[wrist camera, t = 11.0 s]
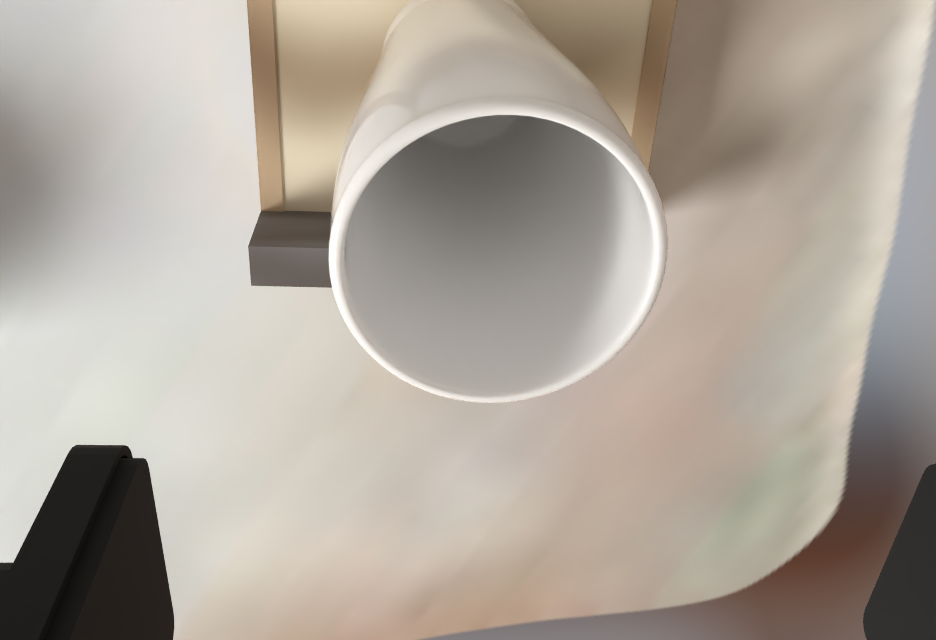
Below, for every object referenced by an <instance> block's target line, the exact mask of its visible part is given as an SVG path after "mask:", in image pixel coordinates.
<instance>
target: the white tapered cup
mask: <svg viewBox="0 0 936 640" xmlns="http://www.w3.org/2000/svg"><path fill="white" fill-rule="evenodd" d="M667 250H668V236H667V224H666V219H665V213H664V209H663V205H662V202H661V199H660V196H659V193H658V191H657V189H656V186H655V184H654V182H653V180H652V178H651V176H650V174H649V172H648V170H647V168H646V165H645V163H644V161H643V159H642V157H641V155H640V153H639V151H638V149H637V147H636V145H635V143H634V141H633V140H632V138H631V136H630V134H629V133H628V131H627V129H626V127H625V126H624V124H623V122H622V121H621V119H620V118H619V116H618V115H617V113H616V112H615V110H614V109H613V108H612V106H611V105H610V103H609V102H608V101H607V99H606V98H605V97H604V95H603V94H602V93H601V91H600V90H599V89H598V88H597V87H596V86H595V85H594V84H593V82H592V81H591V80H590V79H589V78H588V77H587V76H586V75H585V74H584V73H583V72H582V71H581V70H580V69H579V68H578V67H577V66H576V65H575V64H574V63H573V62H572V61H571V60H570V59H569V58H568V57H567V56H565V55H564V54H563V53H562V52H561V51H560V50H559V49H558V48H557V47H556V46H555V45H553V44H552V43H551V42H550V41H549V40H548V39H547V38H546V37H545V36H544V35H543V34H542V33H541V32H540V31H539V30H538V29H537V28H536V27H535V26H534V25H533V24H532V22H531V20H530V19H529V17H528V16H527V15H526V13H525V12H524V11H523V10H522V9H521V7H520V6H519V5H518V4H517V3H515V2H514V1H513V0H411V1H410V2H408V3H407V4H406V5H405V6H404V7H403V8H402V9H401V11H400V12H399V13H398V14H397V16H396V17H395V19H394V20H393V22H392V23H391V25H390V27H389V29H388V31H387V34H386V37H385V39H384V43H383V47H382V52H381V57H380V60H379V62H378V64H377V66H376V69H375V71H374V73H373V75H372V78H371V80H370V82H369V84H368V86H367V88H366V91H365V93H364V95H363V97H362V99H361V101H360V104H359V106H358V108H357V110H356V112H355V115H354V117H353V120H352V122H351V125H350V128H349V130H348V133H347V136H346V139H345V142H344V145H343V149H342V153H341V157H340V160H339V164H338V169H337V174H336V180H335V186H334V193H333V200H332V208H331V223H330V240H329V257H328V259H329V273H330V279H331V284H332V289H333V293H334V296H335V299H336V303H337V305H338V307H339V310H340V312H341V315H342V317H343V319H344V320H345V322H346V324H347V326H348V328H349V329H350V331H351V332H352V334H353V335H354V337H355V338H356V340H357V341H358V342H359V343H360V345H361V346H362V347H363V348H364V349H365V350H366V352H367V353H368V354H369V355H370V356H372V357H373V358H374V359H375V360H376V361H377V362H378V363H379V364H380V365H382V366H383V367H384V368H385V369H387V370H388V371H389V372H391V373H392V374H394V375H395V376H397V377H399V378H400V379H402V380H404V381H405V382H407V383H409V384H411V385H413V386H415V387H417V388H420V389H422V390H425V391H427V392H430V393H433V394H436V395H439V396H443V397H447V398H451V399H456V400H462V401H469V402H482V403H502V402H512V401H520V400H525V399H531V398H535V397H539V396H542V395H546V394H549V393H552V392H555V391H558V390H560V389H563V388H565V387H567V386H569V385H572V384H574V383H576V382H578V381H580V380H581V379H583V378H585V377H587V376H589V375H590V374H592V373H593V372H595V371H596V370H598V369H599V368H601V367H602V366H603V365H604V364H606V363H607V362H608V361H610V360H611V359H612V358H613V357H614V356H615V355H616V354H618V353H619V352H620V351H621V350H622V349H623V348H624V347H625V346H626V344H627V343H628V342H629V341H630V340H631V339H632V338H633V337H634V335H635V334H636V333H637V331H638V330H639V329H640V327H641V326H642V324H643V323H644V321H645V319H646V318H647V316H648V315H649V313H650V311H651V309H652V307H653V305H654V303H655V301H656V298H657V296H658V293H659V290H660V288H661V285H662V281H663V277H664V273H665V268H666V261H667Z"/></svg>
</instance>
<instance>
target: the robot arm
mask: <svg viewBox="0 0 936 640" xmlns="http://www.w3.org/2000/svg"><path fill="white" fill-rule="evenodd" d="M863 625H864V632H865V636H866V638H867V640H936V464H934V465H930V466H928V467H927V468H926V470H925V471H924V473H923V475H922V478H921V480H920V482H919V485H918V487H917V489H916V492H915V494H914V496H913V499H912V501H911V503H910V506H909V508H908V510H907V513H906V515H905V517H904V520H903V522H902V524H901V527H900V529H899V531H898V534H897V536H896V538H895V541H894V543H893V545H892V548H891V550H890V552H889V555H888V557H887V559H886V562H885V564H884V566H883V569H882V571H881V573H880V576H879V578H878V580H877V583H876V585H875V588H874V590H873V592H872V594H871V597H870V599H869V602H868V604H867V606H866V609H865V612H864V618H863ZM173 634H174V613H173V607H172V602H171V596H170V590H169V584H168V578H167V572H166V566H165V560H164V554H163V549H162V543H161V537H160V531H159V525H158V519H157V513H156V507H155V501H154V495H153V490H152V484H151V478H150V472H149V467H148V463H147V461H146V459H144V458H133V457H132V454H131V451H130V449H129V447H128V446H125V445H76V446H74V447H72V449H71V450H70V452H69V453H68V455H67V457H66V459H65V461H64V463H63V465H62V467H61V469H60V471H59V473H58V475H57V477H56V479H55V481H54V483H53V485H52V487H51V489H50V491H49V493H48V495H47V497H46V499H45V501H44V503H43V505H42V507H41V509H40V511H39V513H38V515H37V517H36V519H35V521H34V523H33V525H32V527H31V529H30V531H29V533H28V535H27V537H26V539H25V541H24V543H23V545H22V547H21V549H20V551H19V553H18V555H17V557H16V559H15V561H14V563H0V640H173Z"/></svg>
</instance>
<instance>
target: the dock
mask: <svg viewBox="0 0 936 640" xmlns="http://www.w3.org/2000/svg"><path fill="white" fill-rule="evenodd" d="M410 1H411V0H247V8H248V23H249V38H250V53H251V68H252V83H253V98H254V113H255V128H256V142H257V157H258V172H259V187H260V202H261V213H260V215H259V218H258V221H257V224H256V227H255V229H254V232H253V235H252V238H251V240H250V243H249V246H248V248H249V261H250V274H251V286H291V287H332V284H331V279H330V273H329V259H328V257H329V240H330V223H331V208H332V200H333V193H334V186H335V180H336V174H337V169H338V164H339V160H340V157H341V153H342V149H343V145H344V142H345V139H346V136H347V133H348V130H349V128H350V125H351V122H352V120H353V117H354V115H355V112H356V110H357V108H358V106H359V104H360V101H361V99H362V97H363V95H364V93H365V91H366V88H367V86H368V84H369V82H370V80H371V78H372V75H373V73H374V71H375V69H376V66H377V64H378V62H379V60H380V57H381V52H382V47H383V43H384V39H385V37H386V34H387V31H388V29H389V27H390V25H391V23H392V22H393V20H394V19H395V17H396V16H397V14H398V13H399V12H400V11H401V9H402V8H403V7H404V6H405V5H406V4H407V3H408V2H410ZM513 1H514V2H515V3H517V4H518V5H519V6H520V7H521V9H522V10H523V11H524V12H525V13H526V15H527V16H528V17H529V19H530V20H531V22H532V24H533V25H534V26H535V27H536V28H537V29H538V30H539V31H540V32H541V33H542V34H543V35H544V36H545V37H546V38H547V39H548V40H549V41H550V42H551V43H552V44H553V45H555V46H556V47H557V48H558V49H559V50H560V51H561V52H562V53H563V54H564V55H565V56H567V57H568V58H569V59H570V60H571V61H572V62H573V63H574V64H575V65H576V66H577V67H578V68H579V69H580V70H581V71H582V72H583V73H584V74H585V75H586V76H587V77H588V78H589V79H590V80H591V81H592V82H593V84H594V85H595V86H596V87H597V88H598V89H599V90H600V91H601V93H602V94H603V95H604V97H605V98H606V99H607V101H608V102H609V103H610V105H611V106H612V108H613V109H614V110H615V112H616V113H617V115H618V116H619V118H620V119H621V121H622V122H623V124H624V126H625V127H626V129H627V131H628V133H629V134H630V136H631V138H632V140H633V141H634V143H635V145H636V147H637V149H638V151H639V153H640V155H641V157H642V159H643V161H644V163H645V165H646V168H647V170H648V169H649V163H650V158H651V152H652V146H653V140H654V134H655V128H656V122H657V117H658V111H659V105H660V99H661V93H662V87H663V81H664V76H665V70H666V64H667V58H668V52H669V46H670V41H671V35H672V29H673V23H674V17H675V11H676V5H677V0H513Z"/></svg>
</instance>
